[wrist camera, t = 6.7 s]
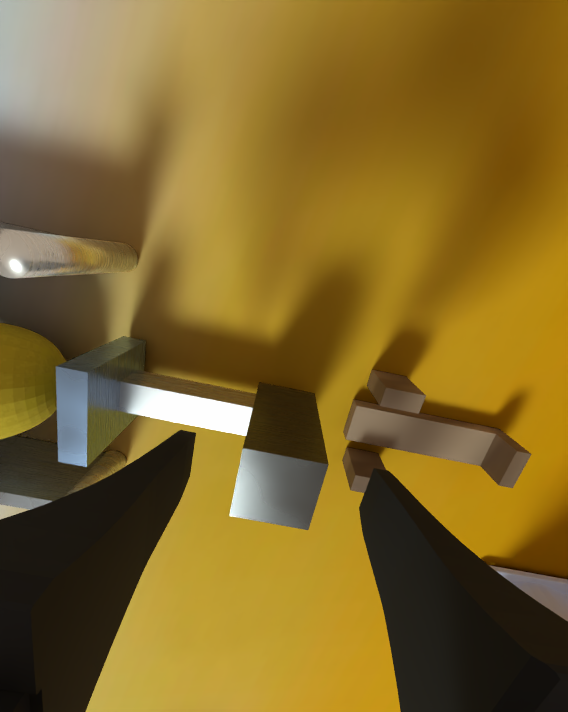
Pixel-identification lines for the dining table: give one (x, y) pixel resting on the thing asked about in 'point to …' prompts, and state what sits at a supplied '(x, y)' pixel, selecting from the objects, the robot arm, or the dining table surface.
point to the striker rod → (203, 409)
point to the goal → (34, 457)
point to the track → (422, 434)
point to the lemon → (26, 379)
